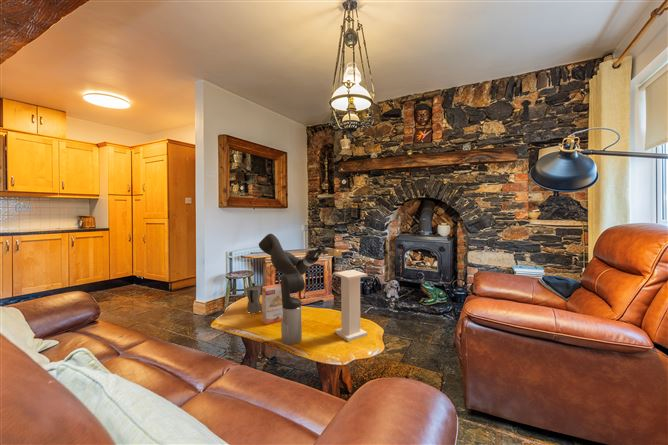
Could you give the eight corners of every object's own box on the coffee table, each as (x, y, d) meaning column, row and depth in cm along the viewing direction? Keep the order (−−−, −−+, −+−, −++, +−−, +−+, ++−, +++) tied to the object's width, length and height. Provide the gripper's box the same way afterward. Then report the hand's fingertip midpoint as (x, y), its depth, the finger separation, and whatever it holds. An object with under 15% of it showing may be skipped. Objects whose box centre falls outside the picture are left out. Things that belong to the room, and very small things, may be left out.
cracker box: (266, 325, 161) (265, 289, 159) (262, 322, 165) (261, 286, 164) (288, 319, 169) (288, 284, 167) (284, 316, 174) (283, 282, 172)
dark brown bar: (334, 256, 155) (334, 251, 155) (315, 251, 172) (315, 246, 172) (341, 255, 158) (341, 250, 158) (322, 250, 175) (322, 245, 175)
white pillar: (348, 341, 141) (348, 277, 139) (334, 332, 151) (334, 272, 149) (367, 335, 148) (367, 274, 146) (353, 327, 158) (352, 269, 156)
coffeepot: (248, 307, 188) (247, 280, 187) (263, 307, 189) (262, 280, 188) (243, 317, 173) (242, 287, 172) (259, 316, 174) (258, 287, 173)
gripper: (299, 254, 180) (310, 243, 167) (318, 251, 188) (330, 241, 175) (302, 265, 178) (314, 255, 164) (321, 262, 185) (334, 252, 172)
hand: (322, 248), depth 170 cm, fingers closed on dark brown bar, 2 cm apart
